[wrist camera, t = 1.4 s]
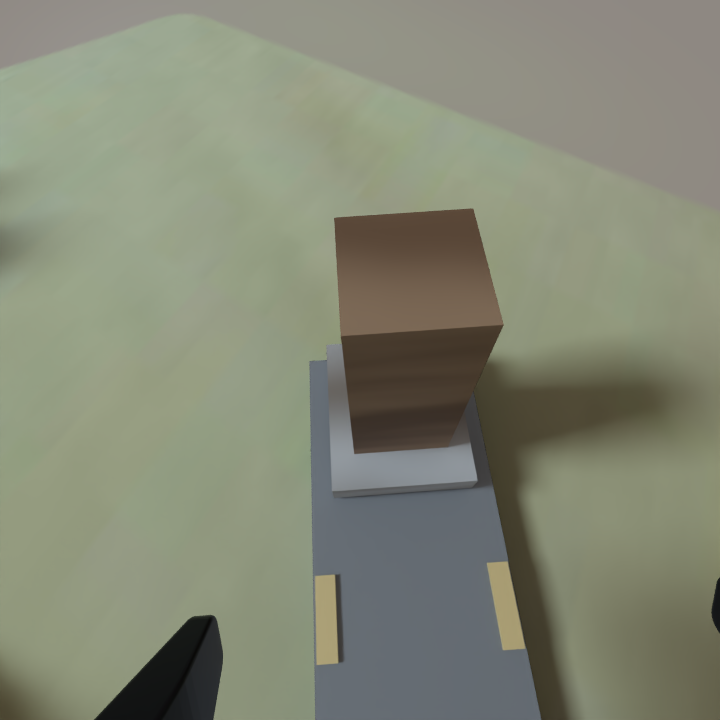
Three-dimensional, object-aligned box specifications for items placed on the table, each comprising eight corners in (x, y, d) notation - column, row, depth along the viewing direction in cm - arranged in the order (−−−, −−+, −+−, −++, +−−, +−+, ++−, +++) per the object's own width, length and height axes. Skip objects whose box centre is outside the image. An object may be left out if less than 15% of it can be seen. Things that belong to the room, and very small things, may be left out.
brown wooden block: (472, 487, 20) (561, 376, 11) (334, 498, 20) (300, 395, 10) (446, 348, 23) (496, 171, 14) (328, 357, 23) (299, 184, 14)
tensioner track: (550, 823, 16) (600, 882, 13) (322, 842, 16) (308, 907, 12) (460, 364, 25) (474, 323, 21) (312, 374, 25) (303, 335, 21)
